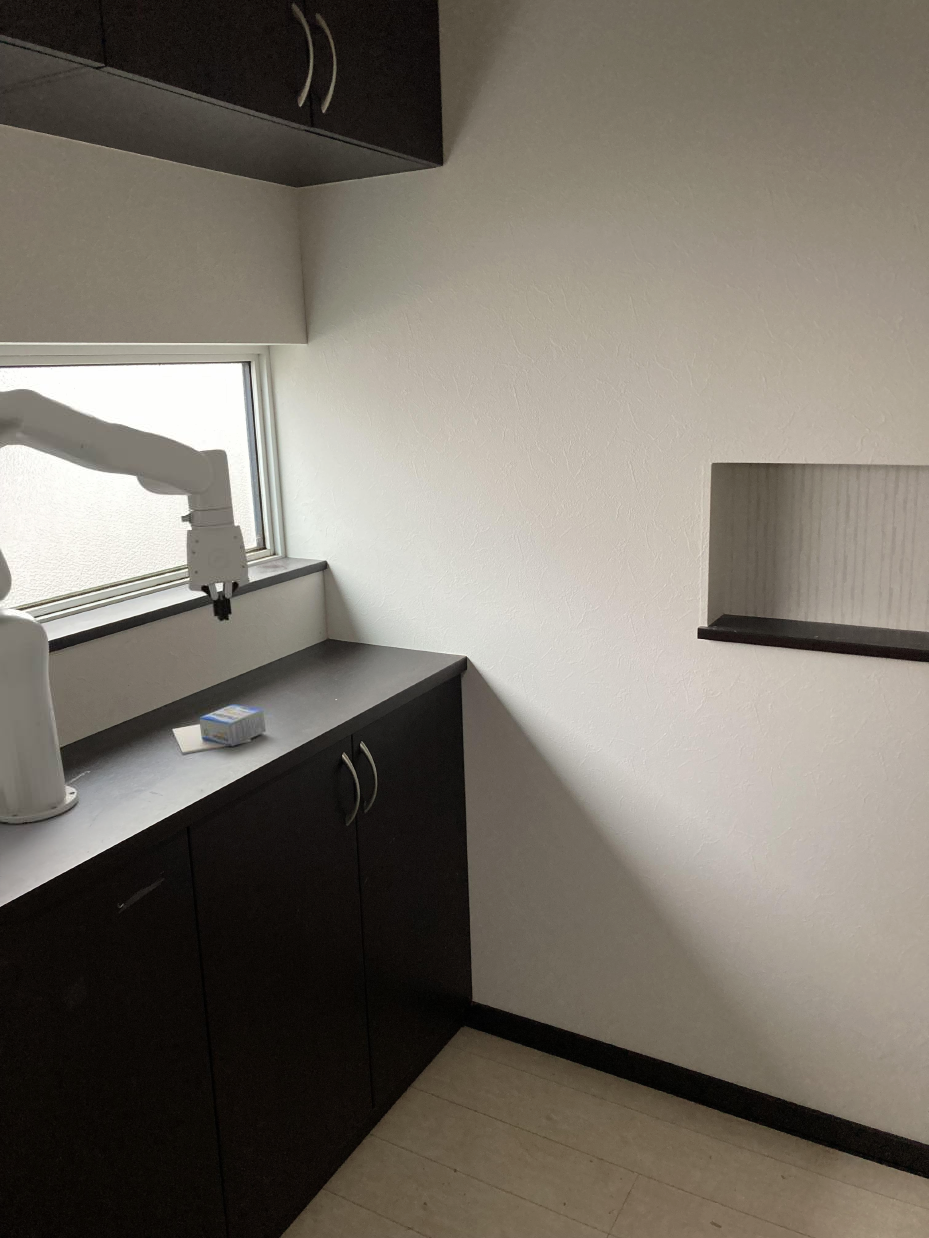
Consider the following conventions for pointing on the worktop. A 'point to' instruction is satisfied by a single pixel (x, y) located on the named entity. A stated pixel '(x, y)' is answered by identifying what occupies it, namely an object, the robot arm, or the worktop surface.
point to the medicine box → (232, 724)
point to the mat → (195, 740)
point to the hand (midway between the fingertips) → (223, 619)
